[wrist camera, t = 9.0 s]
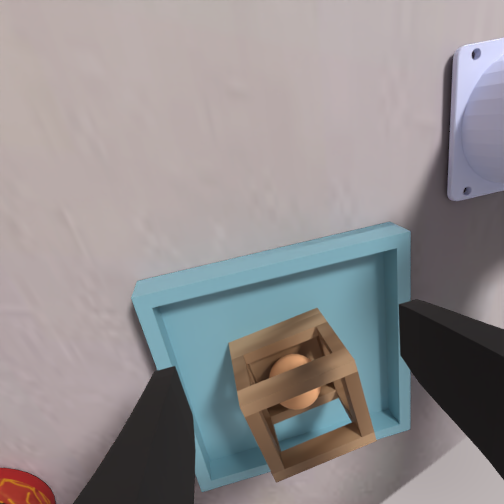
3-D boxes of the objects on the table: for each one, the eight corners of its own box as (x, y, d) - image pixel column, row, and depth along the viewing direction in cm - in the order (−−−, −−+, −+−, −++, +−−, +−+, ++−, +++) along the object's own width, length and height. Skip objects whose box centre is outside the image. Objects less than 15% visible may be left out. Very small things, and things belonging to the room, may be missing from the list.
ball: (304, 337, 20) (320, 363, 17) (317, 377, 21) (335, 409, 18) (258, 355, 20) (267, 384, 17) (273, 395, 21) (284, 429, 18)
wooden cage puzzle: (317, 307, 20) (354, 360, 15) (338, 376, 22) (376, 440, 18) (228, 342, 20) (239, 407, 15) (258, 408, 22) (276, 482, 17)
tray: (389, 221, 20) (410, 231, 18) (394, 407, 25) (410, 429, 23) (137, 281, 18) (130, 297, 16) (201, 464, 24) (201, 492, 22)
